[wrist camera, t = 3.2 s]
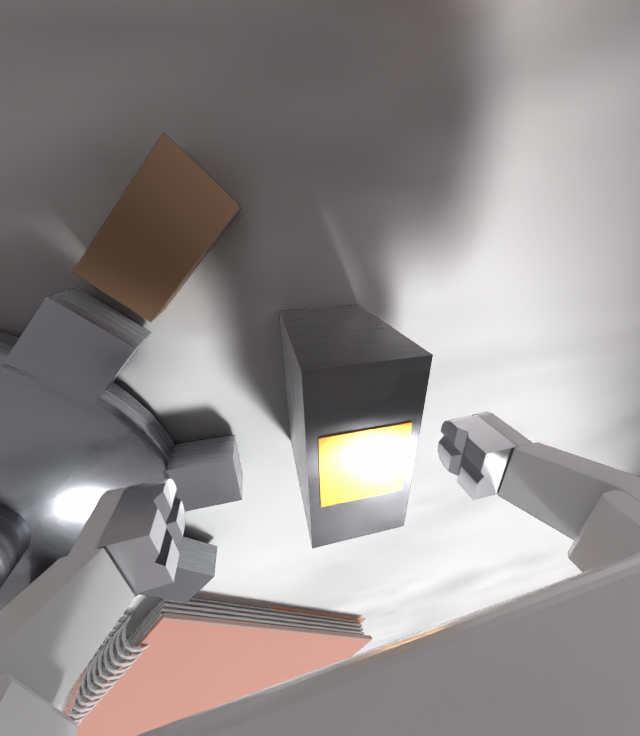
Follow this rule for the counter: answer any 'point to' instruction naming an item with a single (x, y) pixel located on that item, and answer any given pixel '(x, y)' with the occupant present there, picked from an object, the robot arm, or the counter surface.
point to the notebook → (204, 661)
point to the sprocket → (89, 446)
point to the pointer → (157, 232)
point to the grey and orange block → (352, 418)
